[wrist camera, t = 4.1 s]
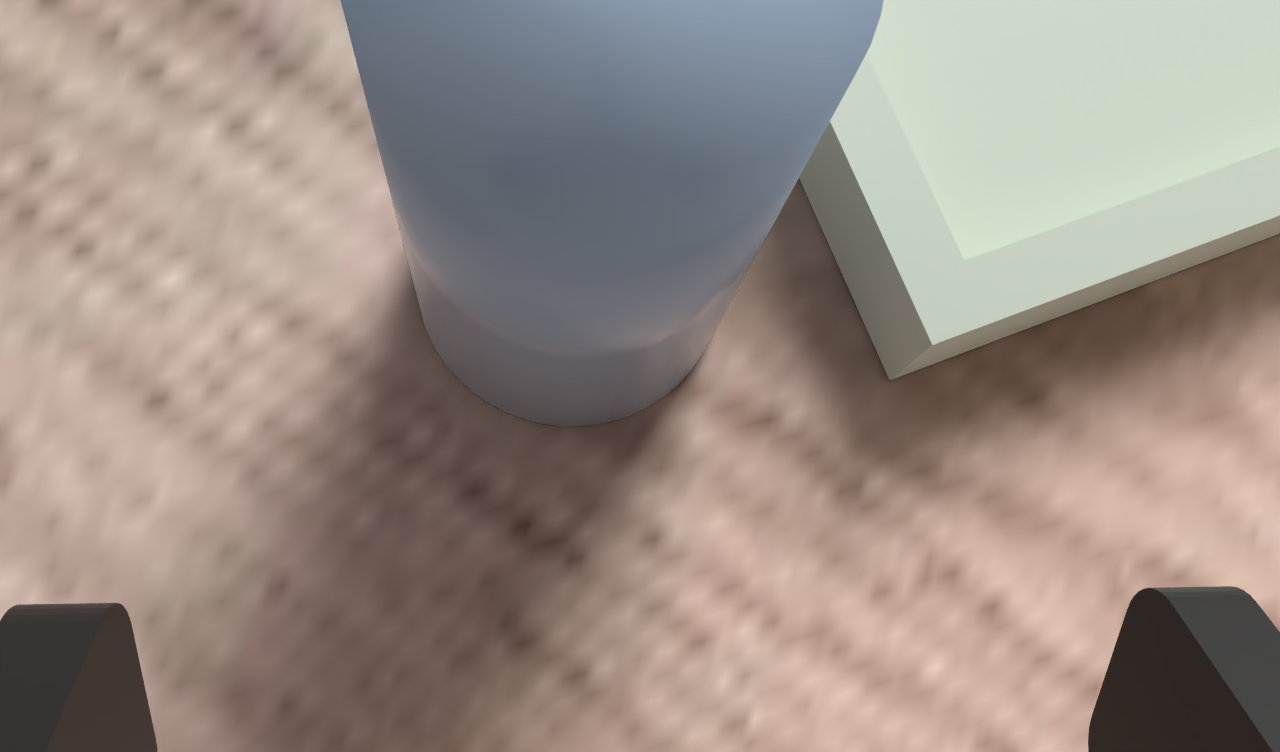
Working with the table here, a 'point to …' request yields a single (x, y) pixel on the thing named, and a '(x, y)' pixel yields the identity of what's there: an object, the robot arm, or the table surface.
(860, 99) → the sage tray
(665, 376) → the dome-topped blue cylinder
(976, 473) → the table surface
